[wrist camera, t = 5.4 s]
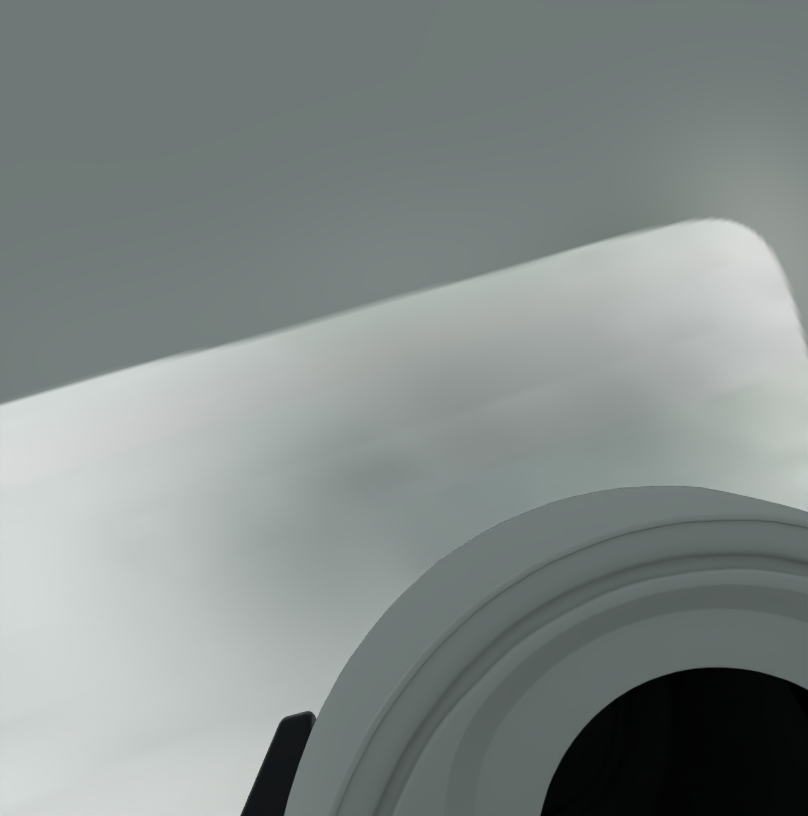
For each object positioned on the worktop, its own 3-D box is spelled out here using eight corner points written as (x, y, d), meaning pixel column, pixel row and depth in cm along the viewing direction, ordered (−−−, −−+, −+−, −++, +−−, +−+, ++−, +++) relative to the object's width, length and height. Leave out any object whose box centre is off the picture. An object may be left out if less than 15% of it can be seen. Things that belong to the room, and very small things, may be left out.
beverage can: (599, 522, 16) (1034, 333, 5) (707, 813, 15) (1812, 1653, 3) (340, 601, 16) (118, 609, 4) (420, 909, 14) (406, 2265, 3)
